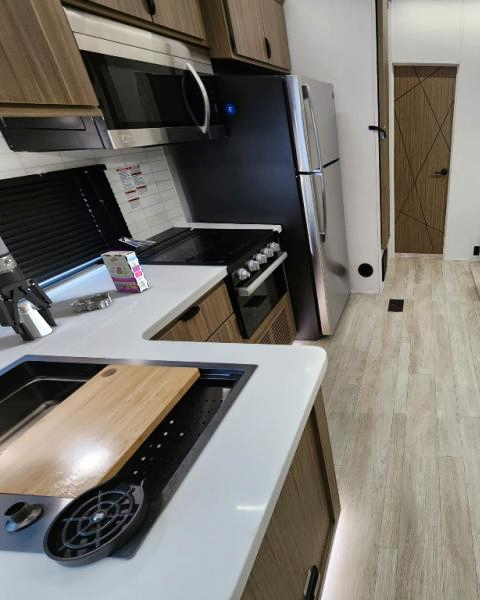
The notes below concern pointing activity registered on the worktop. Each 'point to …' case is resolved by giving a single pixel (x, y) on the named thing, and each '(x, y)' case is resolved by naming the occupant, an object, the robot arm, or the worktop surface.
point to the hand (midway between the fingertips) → (41, 332)
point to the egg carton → (92, 302)
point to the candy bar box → (125, 271)
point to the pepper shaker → (33, 321)
